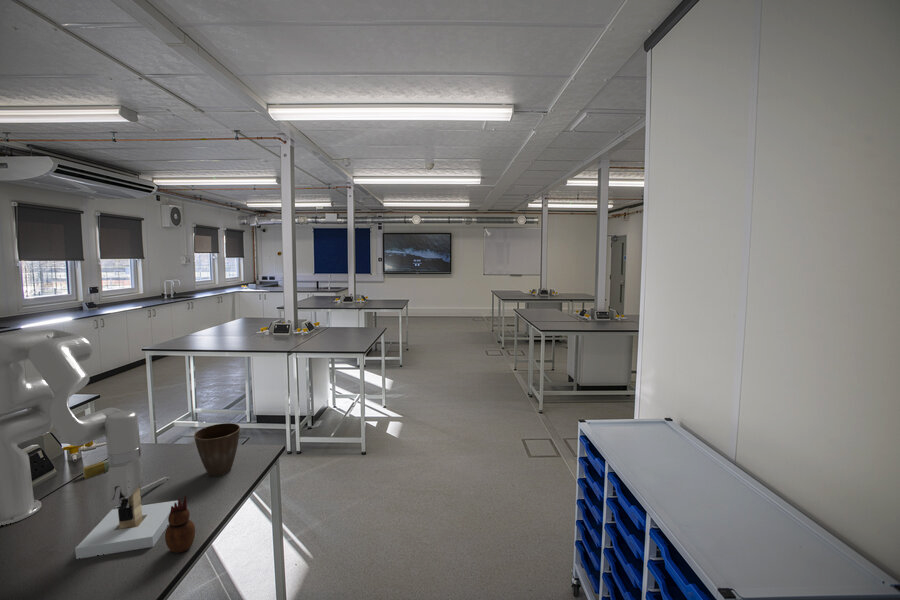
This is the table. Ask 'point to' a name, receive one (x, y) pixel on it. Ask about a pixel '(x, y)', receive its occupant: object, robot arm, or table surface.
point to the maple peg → (137, 511)
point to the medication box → (95, 469)
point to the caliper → (153, 485)
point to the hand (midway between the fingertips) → (130, 514)
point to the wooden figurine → (179, 528)
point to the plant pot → (217, 447)
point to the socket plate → (126, 532)
